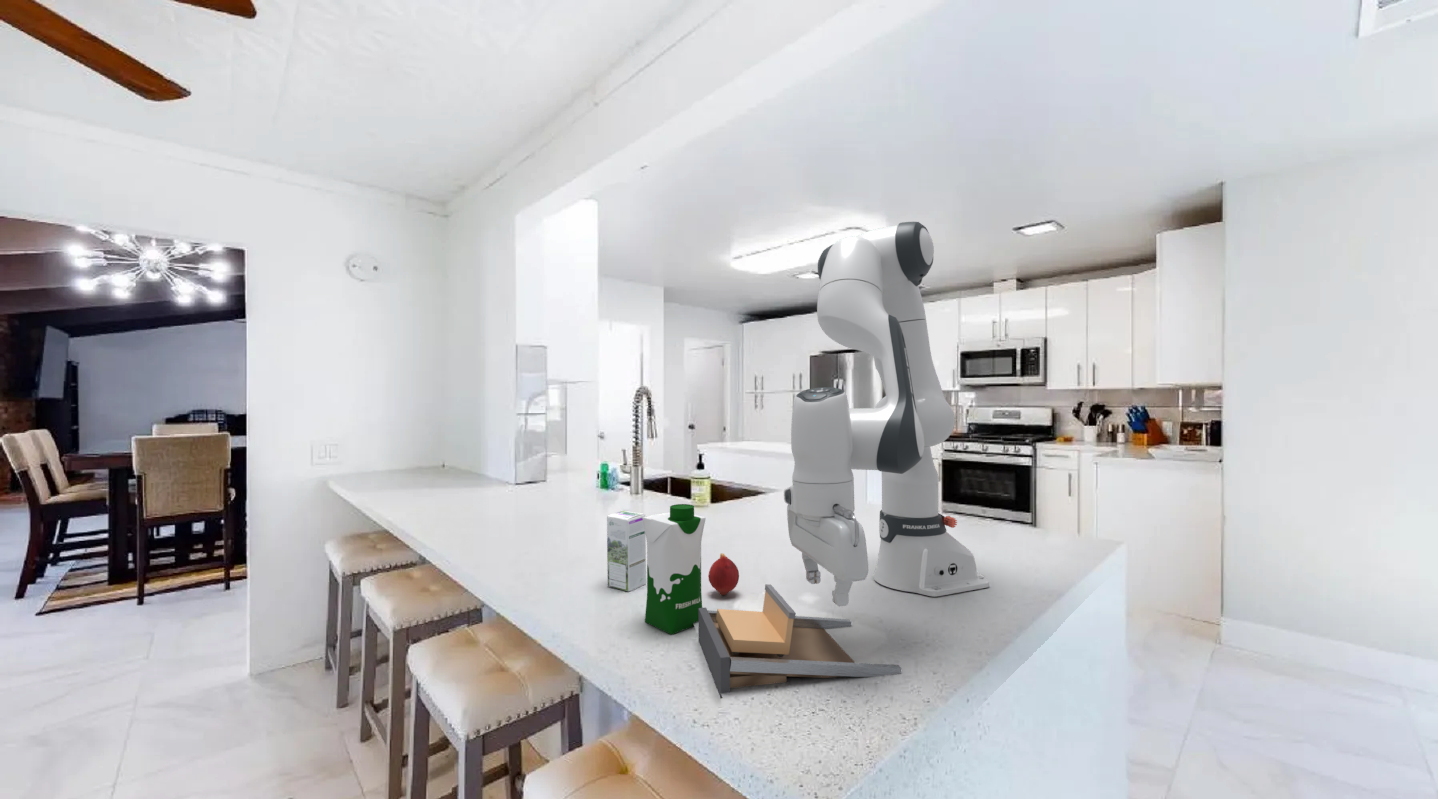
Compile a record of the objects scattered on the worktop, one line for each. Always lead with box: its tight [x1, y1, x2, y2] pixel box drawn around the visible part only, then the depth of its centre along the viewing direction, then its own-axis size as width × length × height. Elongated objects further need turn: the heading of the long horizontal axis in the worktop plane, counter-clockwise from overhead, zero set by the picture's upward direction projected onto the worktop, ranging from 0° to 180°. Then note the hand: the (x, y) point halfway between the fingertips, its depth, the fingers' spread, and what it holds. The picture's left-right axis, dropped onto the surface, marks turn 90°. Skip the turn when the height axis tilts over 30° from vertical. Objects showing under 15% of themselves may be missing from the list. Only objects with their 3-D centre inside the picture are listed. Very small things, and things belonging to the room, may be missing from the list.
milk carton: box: [642, 503, 706, 636], centre depth 97 cm, size 9×9×20 cm
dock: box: [697, 607, 902, 699], centre depth 84 cm, size 25×17×6 cm
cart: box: [716, 583, 797, 657], centre depth 82 cm, size 9×12×7 cm
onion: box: [708, 553, 740, 596], centre depth 110 cm, size 6×6×8 cm
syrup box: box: [606, 510, 647, 592], centre depth 115 cm, size 6×6×14 cm
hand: (826, 592), depth 84 cm, fingers open, 8 cm apart
